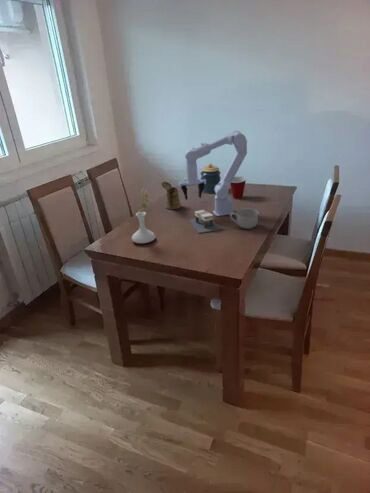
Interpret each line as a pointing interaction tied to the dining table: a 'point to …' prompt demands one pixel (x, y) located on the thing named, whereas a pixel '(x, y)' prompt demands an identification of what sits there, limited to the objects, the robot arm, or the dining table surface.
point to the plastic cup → (238, 186)
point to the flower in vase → (143, 233)
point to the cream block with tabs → (204, 217)
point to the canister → (210, 178)
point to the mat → (200, 226)
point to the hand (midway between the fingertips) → (193, 198)
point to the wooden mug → (171, 196)
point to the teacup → (246, 218)
